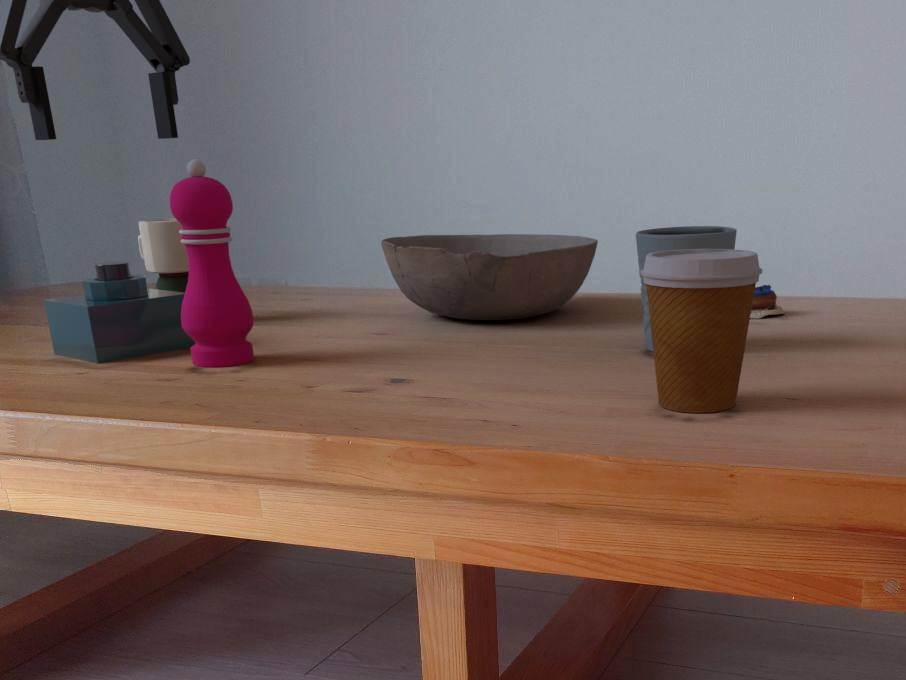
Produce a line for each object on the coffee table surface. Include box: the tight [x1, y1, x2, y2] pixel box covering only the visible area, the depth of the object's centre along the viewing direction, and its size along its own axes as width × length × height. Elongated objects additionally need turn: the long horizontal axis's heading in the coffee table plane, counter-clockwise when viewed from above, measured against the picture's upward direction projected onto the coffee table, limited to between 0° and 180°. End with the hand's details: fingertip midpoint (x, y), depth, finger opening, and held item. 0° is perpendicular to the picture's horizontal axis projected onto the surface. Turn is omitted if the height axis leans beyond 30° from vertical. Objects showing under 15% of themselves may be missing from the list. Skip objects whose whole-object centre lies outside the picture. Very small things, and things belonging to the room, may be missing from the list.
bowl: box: [380, 233, 599, 321], centre depth 131 cm, size 28×28×10 cm
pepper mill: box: [169, 159, 255, 368], centre depth 103 cm, size 7×7×20 cm
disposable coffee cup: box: [640, 249, 764, 414], centre depth 81 cm, size 10×10×12 cm
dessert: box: [750, 284, 785, 320], centre depth 127 cm, size 8×7×6 cm
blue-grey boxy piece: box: [43, 274, 196, 365], centre depth 113 cm, size 12×10×8 cm
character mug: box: [137, 217, 189, 293], centre depth 131 cm, size 11×7×13 cm, turn 65°
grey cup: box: [635, 225, 737, 352], centre depth 105 cm, size 10×10×12 cm
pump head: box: [93, 261, 132, 281], centre depth 111 cm, size 4×4×2 cm
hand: (110, 139), depth 105 cm, fingers open, 13 cm apart
